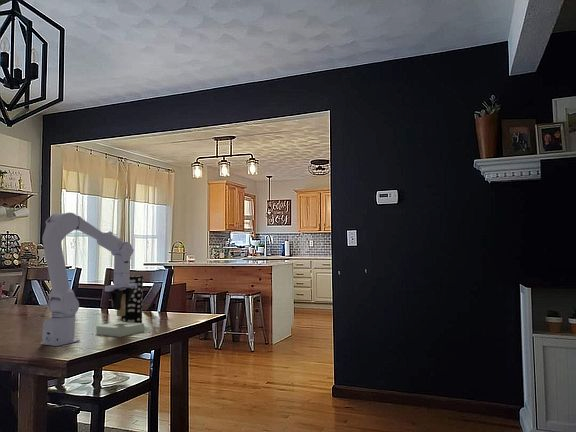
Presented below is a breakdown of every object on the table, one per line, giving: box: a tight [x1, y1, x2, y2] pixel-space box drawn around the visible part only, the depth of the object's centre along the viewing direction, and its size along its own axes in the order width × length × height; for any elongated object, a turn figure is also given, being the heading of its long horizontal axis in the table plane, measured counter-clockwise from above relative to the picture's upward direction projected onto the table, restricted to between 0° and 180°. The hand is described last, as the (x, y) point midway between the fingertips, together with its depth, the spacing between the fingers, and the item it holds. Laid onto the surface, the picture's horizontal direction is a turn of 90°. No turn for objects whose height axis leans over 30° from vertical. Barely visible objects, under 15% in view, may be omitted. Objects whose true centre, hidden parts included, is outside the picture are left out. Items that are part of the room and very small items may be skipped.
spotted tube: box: [121, 275, 144, 323], centre depth 198 cm, size 8×8×20 cm
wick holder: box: [95, 320, 145, 338], centre depth 176 cm, size 12×12×3 cm
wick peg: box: [116, 294, 126, 317], centre depth 177 cm, size 3×3×8 cm
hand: (121, 309), depth 176 cm, fingers closed on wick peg, 3 cm apart
